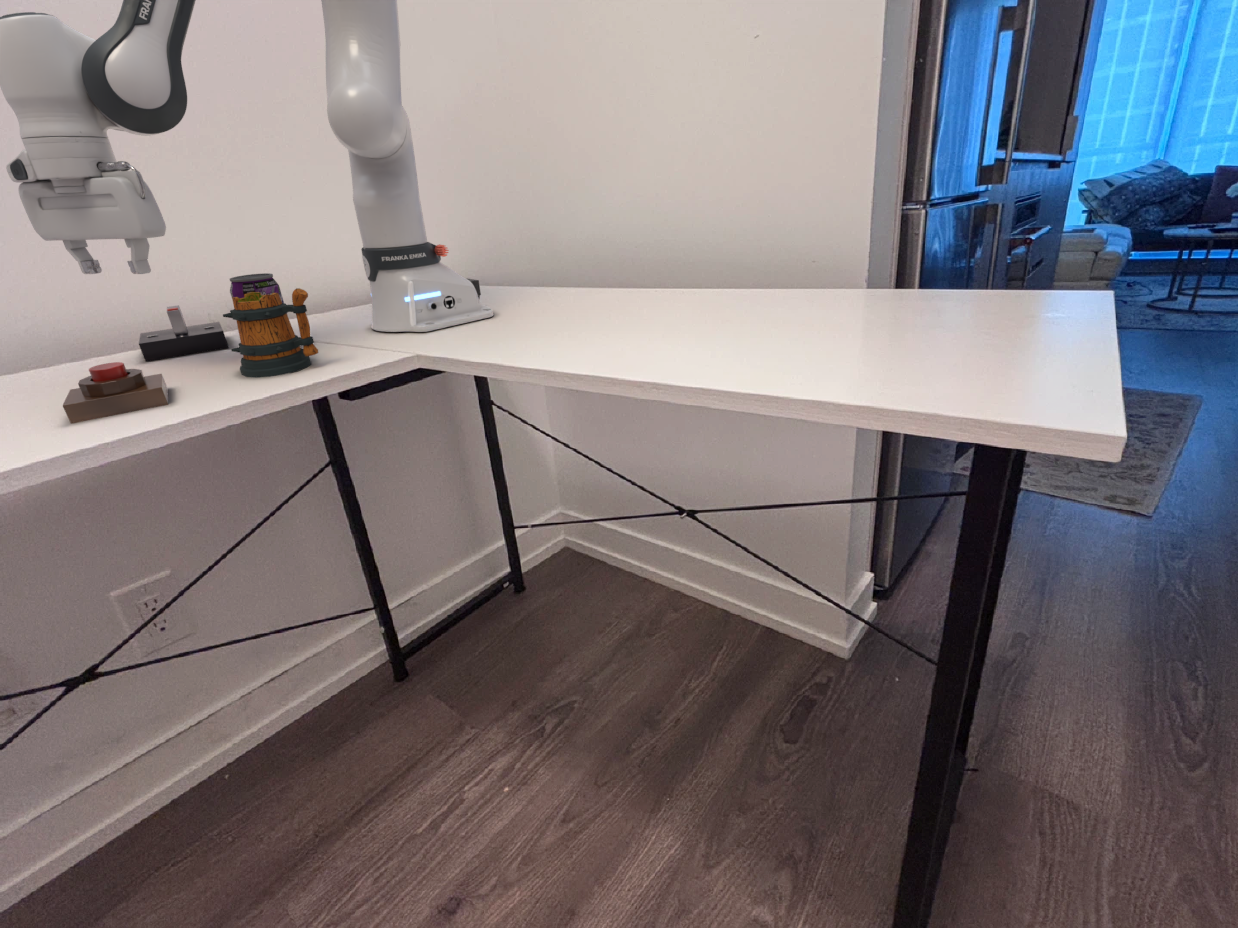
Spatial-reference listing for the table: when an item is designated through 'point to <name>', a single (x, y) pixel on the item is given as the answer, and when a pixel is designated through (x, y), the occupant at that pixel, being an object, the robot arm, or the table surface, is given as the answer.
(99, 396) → the block
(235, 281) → the beverage can
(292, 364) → the mug
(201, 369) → the table surface
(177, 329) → the tilted grey flap
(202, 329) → the black flat block
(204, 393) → the table surface
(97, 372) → the button
